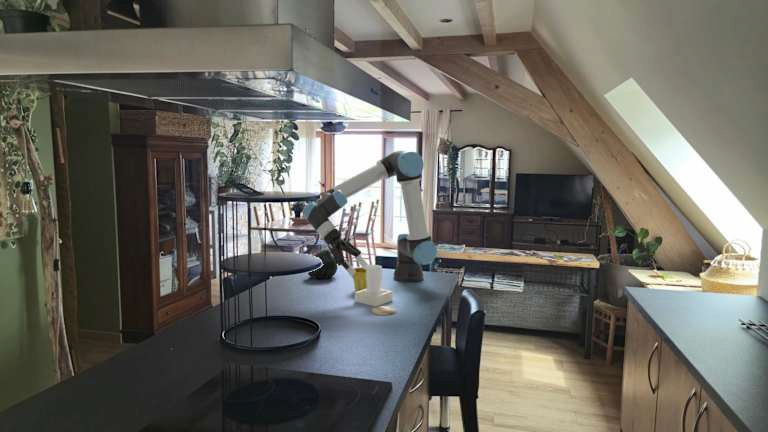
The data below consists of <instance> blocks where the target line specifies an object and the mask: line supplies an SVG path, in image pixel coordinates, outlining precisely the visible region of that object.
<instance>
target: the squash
mask: <svg viewBox="0 0 768 432" xmlns="http://www.w3.org/2000/svg"><path fill="white" fill-rule="evenodd" d="M313 256H316V257H319V258H320V259H321V260H322V262H323V264H324V265H323V266H322V267H321V268H319V269H317V270H315V271H312V272H309V273H307V274H308V276H309V277H311V278H313V279H319V278H320V279H332V278H333V277H334V276H335V274H337V270H338V264H337V263H336V261H335V259H334V257H333V255H332V253H331V251H330V250H328V249H325V250H322V251H319V252H318V253H315V254H313Z"/></svg>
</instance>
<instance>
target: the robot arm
mask: <svg viewBox="0 0 768 432" xmlns="http://www.w3.org/2000/svg"><path fill="white" fill-rule="evenodd" d="M424 165H425V164H424V160H423V158H422V155H420V154H419V153H417V152H416V151H413V150H395V151H393V152H392V153H390V154H388V155H386V156H385V157H383V158H382V159H379V160H377V161H376V163H375V165H373V166H371V167H369V168H367V169H365V170H363V171H361V172H359V173H358V174H355V175H354V176H352V177H351V178H348V179H346V180H345V181H343V182H341V183H339V184H337V185H335V186H334V187H332V188H330V189H328V190H326V191H322V192H319V193H318V194H320V195H321V196H322V199H321V200H318V201H316V200H315V202H310V203H308V204H307V205H306V206H304V208H303V209H302V212H301V213H302V215H303V216H304V218H305V220H306V221H307V222H308V223H309V225H310V226H311V227H312V228H313V230H315V232H316V233H317V234H318V236H320V238H322V239H323V241H324V243H326V245H327V247H328V249H329V252H330V253H331V255H332V256H333V257H334V259H335V261H336V263H337V266H340V265H341V266H342V267H343V268H344V270H345V271H346V272H347V273H348V275H349V276H350V277H352V276H353V275H354V274H355V273H356V271H355V270H354V267H353V266H352V265H351V264H350V263H349V261H348V260H347V259H345V256H344V252H347V254H350V255H352V256H353V257H354V258H355V260H356V261H357V262H358V263H359V265H360V266H361V268H364V270H365V269H366V266H368V265H370V264H369V263H368V262H367V261H366V260H365V259H364V257H363V256H362V255H361V254H362V251H361V250H360V249H359V248H358V247H356V246H355V245H353V244H352V243H351V242H350V241H348V239H347V238H346V237H344V238H343V239H342V238H341V236H342V233H341V231H339V230H338V228H336V226H335V224H334V223H333V222H332V221H331V220H330V219H329V218H330V217H332V216H333V215H334V214H335V213H337V212H338V211H339V210H341V209H342V208H344V206H346V205H347V204H348V198H350V197H352V196H354V195H356V194H358V193H360V192H361V191H363V190H365V189H367V188H368V187H371V186H372V185H374V184H377V183H378V182H379V181H381V180H388V179H390V178H391V177H392V178H393V177H394V176H395V177H396V182H397V183H398V184H400V187H401V192H402V199H403V205H404V206H403V207H404V210H405V217H406V222H407V224H406V225H407V228H408V229H407V230H408V233H407V232H406V233H400V234H398V235H397V241H396V242H397V244H396V245H397V246H396V247H397V250H396V251H397V253H396V255H397V256H396V257H397V259H396V260H397V263H396V265H395V269H394V272H393V279H394V280H395V281H399V282H405V283H406V282H408V283H412V282H420V281H423V280H424V272H423V268H422V266H426V265H429V264H431V263H432V262H434V261H435V259H436V257H437V255H438V248H437V246H436V244H435V242H433V240H432V234H431V233H430V232H429V231H428V229H427V224H426V223H427V222H426V216H425V209H424V203H423V198H422V192H421V191H422V190H421V185H420V181H421V180H422V178H423V177H422V172H423V170H424Z"/></svg>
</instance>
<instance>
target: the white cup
mask: <svg viewBox="0 0 768 432" xmlns="http://www.w3.org/2000/svg"><path fill="white" fill-rule="evenodd" d="M382 277H383V267H382V265H379V264H369V265H368V266H366V283H367V294H369V295H374V296H377V295H380V291H381V289H382V279H383V278H382Z"/></svg>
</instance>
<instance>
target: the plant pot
mask: <svg viewBox="0 0 768 432" xmlns="http://www.w3.org/2000/svg"><path fill="white" fill-rule="evenodd" d="M353 269H354V270H355V271H356V273H355V274H354V275H353V276H351V278H352V279H353V284H354V289H355V292H357V291H361V290H364V289H367V283H366V269H365V270H364V268H363V267H353Z"/></svg>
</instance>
